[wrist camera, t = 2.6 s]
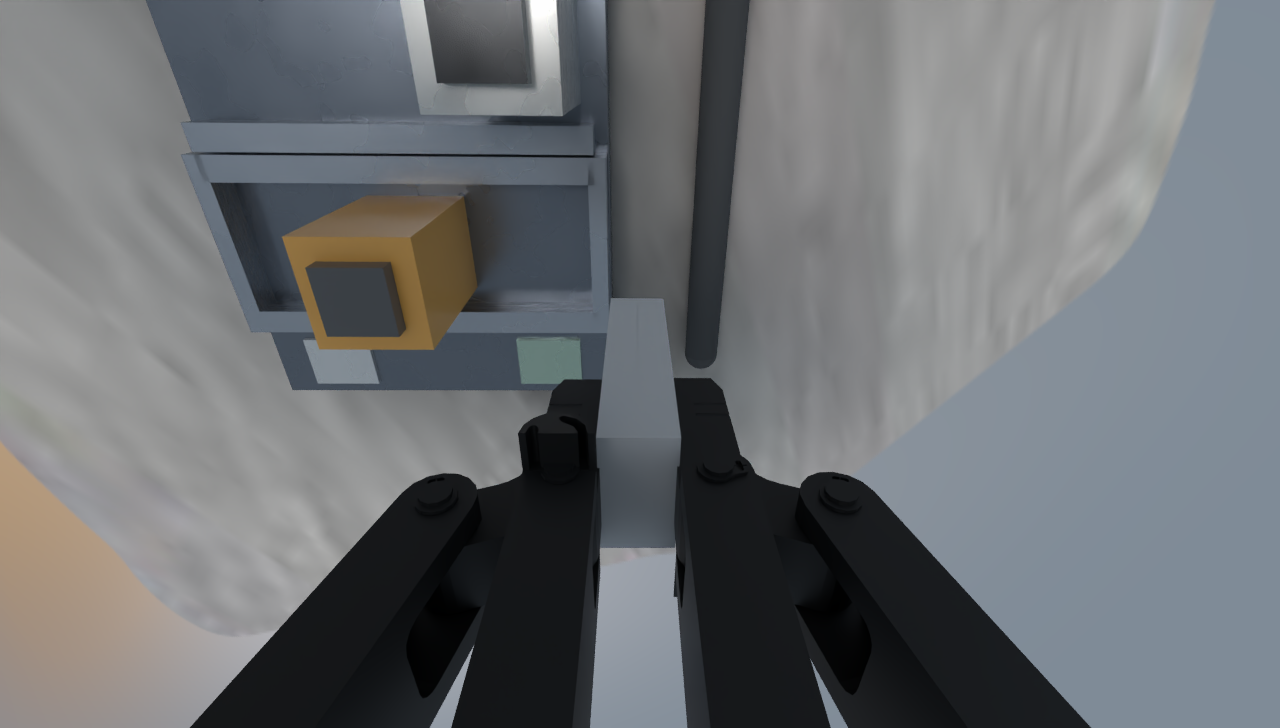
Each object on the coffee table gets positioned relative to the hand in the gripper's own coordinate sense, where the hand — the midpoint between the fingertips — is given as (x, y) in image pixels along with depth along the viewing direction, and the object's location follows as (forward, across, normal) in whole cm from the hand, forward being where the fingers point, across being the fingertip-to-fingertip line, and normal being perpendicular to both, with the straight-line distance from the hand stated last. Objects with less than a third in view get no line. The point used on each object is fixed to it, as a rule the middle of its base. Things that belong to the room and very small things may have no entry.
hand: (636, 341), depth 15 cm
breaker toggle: (+9, -9, 0) cm, 13 cm away
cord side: (+11, +3, +2) cm, 11 cm away
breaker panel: (+11, -9, +2) cm, 14 cm away
